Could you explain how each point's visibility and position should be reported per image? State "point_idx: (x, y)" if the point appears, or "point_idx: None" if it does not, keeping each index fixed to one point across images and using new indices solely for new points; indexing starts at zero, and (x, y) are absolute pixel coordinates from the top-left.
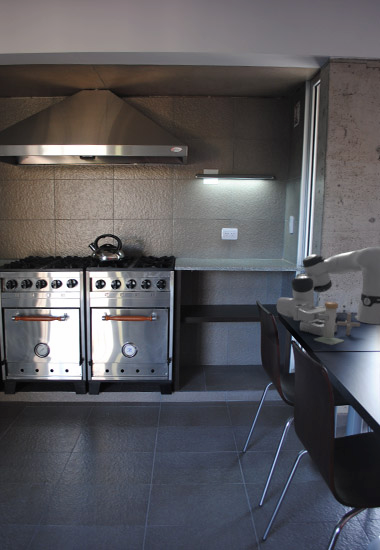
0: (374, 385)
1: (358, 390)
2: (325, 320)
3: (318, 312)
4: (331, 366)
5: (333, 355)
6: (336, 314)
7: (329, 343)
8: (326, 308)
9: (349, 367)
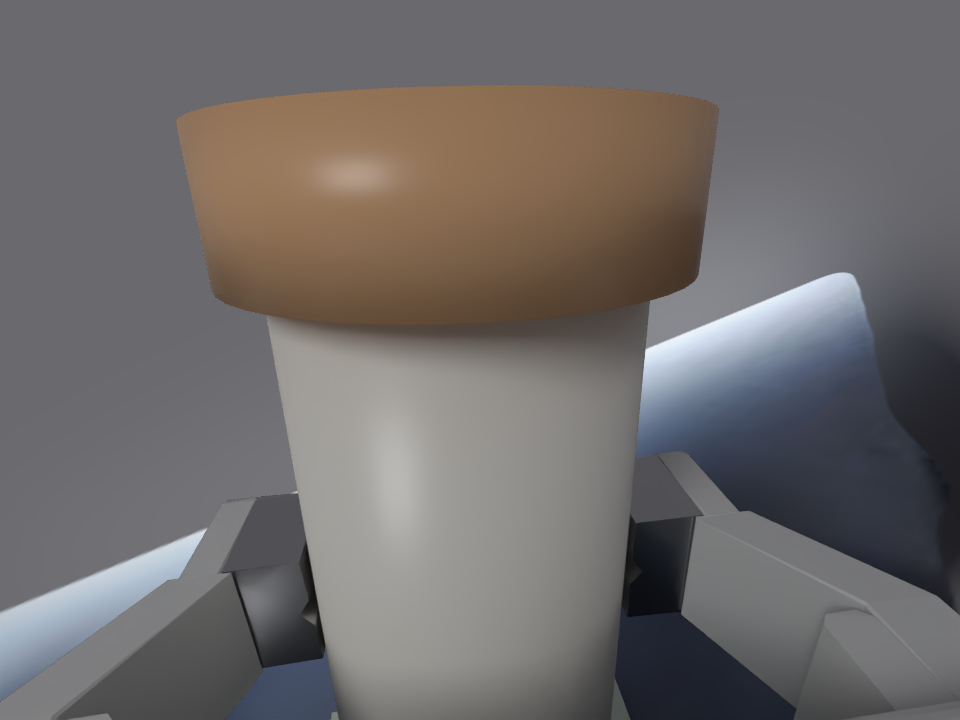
0: (748, 309)
1: (828, 304)
2: (615, 659)
3: (941, 708)
4: (864, 398)
5: (766, 485)
6: (261, 500)
7: (625, 708)
8: (646, 320)
9: (757, 376)
